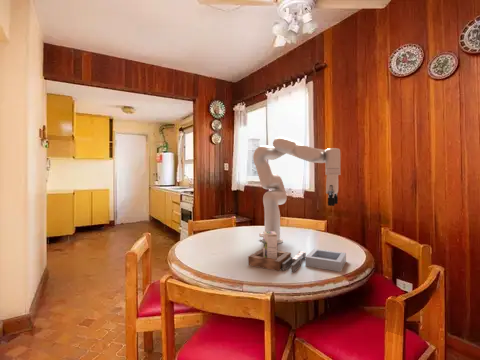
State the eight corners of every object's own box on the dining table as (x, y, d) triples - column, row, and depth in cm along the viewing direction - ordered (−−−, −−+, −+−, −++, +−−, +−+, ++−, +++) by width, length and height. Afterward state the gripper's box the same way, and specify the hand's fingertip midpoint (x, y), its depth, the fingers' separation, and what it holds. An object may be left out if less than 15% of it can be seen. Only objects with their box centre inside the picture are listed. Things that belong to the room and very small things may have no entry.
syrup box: (262, 261, 125) (262, 231, 124) (275, 260, 125) (274, 230, 125) (265, 265, 119) (264, 233, 119) (277, 264, 119) (277, 233, 119)
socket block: (248, 265, 119) (248, 256, 119) (262, 256, 132) (262, 248, 132) (292, 273, 109) (292, 264, 109) (303, 263, 121) (303, 254, 121)
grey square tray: (305, 265, 118) (305, 256, 118) (314, 256, 131) (314, 248, 131) (340, 271, 110) (340, 262, 110) (346, 261, 123) (346, 253, 123)
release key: (290, 264, 119) (290, 258, 119) (299, 256, 130) (299, 251, 130) (297, 265, 117) (297, 259, 117) (306, 257, 129) (306, 252, 128)
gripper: (328, 172, 145) (328, 202, 145) (322, 172, 130) (322, 206, 130) (342, 172, 141) (342, 203, 142) (337, 171, 126) (337, 206, 127)
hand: (332, 204), depth 136 cm, fingers open, 9 cm apart
